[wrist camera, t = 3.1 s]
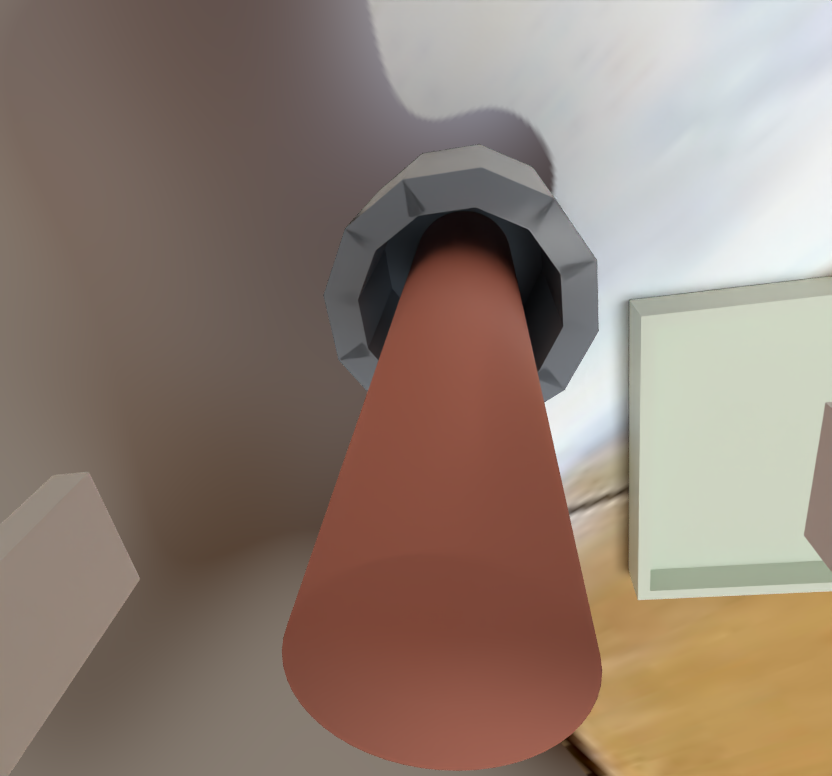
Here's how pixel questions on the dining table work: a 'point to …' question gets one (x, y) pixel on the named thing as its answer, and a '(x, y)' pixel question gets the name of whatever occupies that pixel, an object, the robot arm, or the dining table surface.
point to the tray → (727, 438)
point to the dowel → (448, 537)
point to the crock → (529, 243)
